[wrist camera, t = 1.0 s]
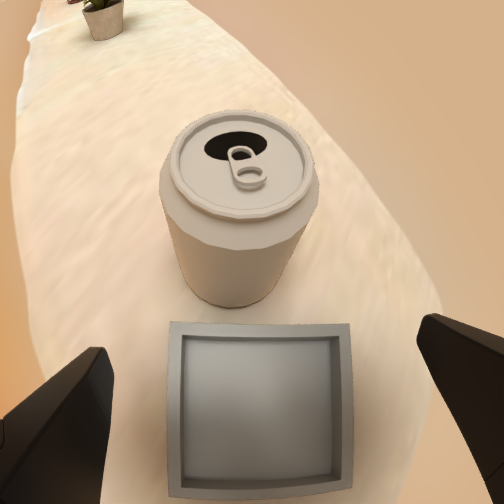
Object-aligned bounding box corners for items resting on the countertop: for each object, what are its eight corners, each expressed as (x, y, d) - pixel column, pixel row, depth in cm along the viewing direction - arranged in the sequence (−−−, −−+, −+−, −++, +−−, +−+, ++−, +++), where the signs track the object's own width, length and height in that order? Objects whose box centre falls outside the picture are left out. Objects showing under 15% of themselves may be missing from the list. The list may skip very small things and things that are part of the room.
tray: (338, 478, 17) (351, 487, 15) (174, 485, 16) (168, 496, 14) (336, 330, 22) (349, 323, 20) (175, 328, 21) (169, 321, 19)
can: (263, 210, 25) (293, 92, 15) (293, 296, 23) (358, 210, 12) (173, 229, 24) (147, 111, 13) (193, 321, 21) (165, 250, 10)
